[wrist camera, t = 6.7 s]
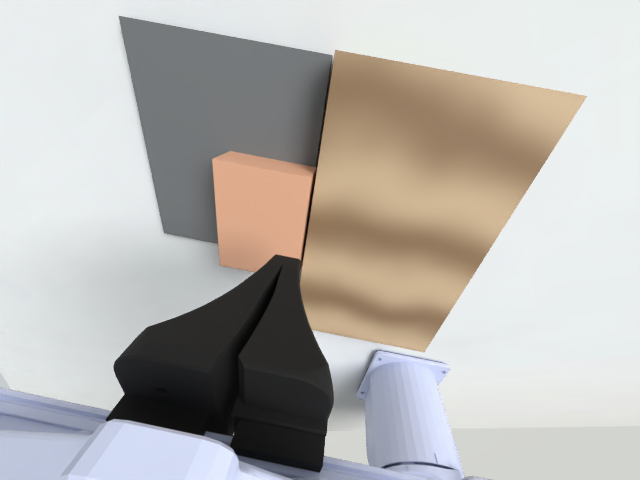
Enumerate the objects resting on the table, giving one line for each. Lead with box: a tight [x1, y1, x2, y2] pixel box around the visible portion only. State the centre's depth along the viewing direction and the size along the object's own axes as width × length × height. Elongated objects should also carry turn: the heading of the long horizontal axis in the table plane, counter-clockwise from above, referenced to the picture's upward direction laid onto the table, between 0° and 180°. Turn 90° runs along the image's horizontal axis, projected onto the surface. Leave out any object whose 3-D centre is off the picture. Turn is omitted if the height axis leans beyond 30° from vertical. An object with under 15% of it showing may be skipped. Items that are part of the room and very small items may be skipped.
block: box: [212, 151, 317, 272], centre depth 17 cm, size 8×6×2 cm
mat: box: [119, 16, 332, 243], centre depth 17 cm, size 14×12×1 cm
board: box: [300, 50, 587, 352], centre depth 18 cm, size 20×12×2 cm, turn 171°
